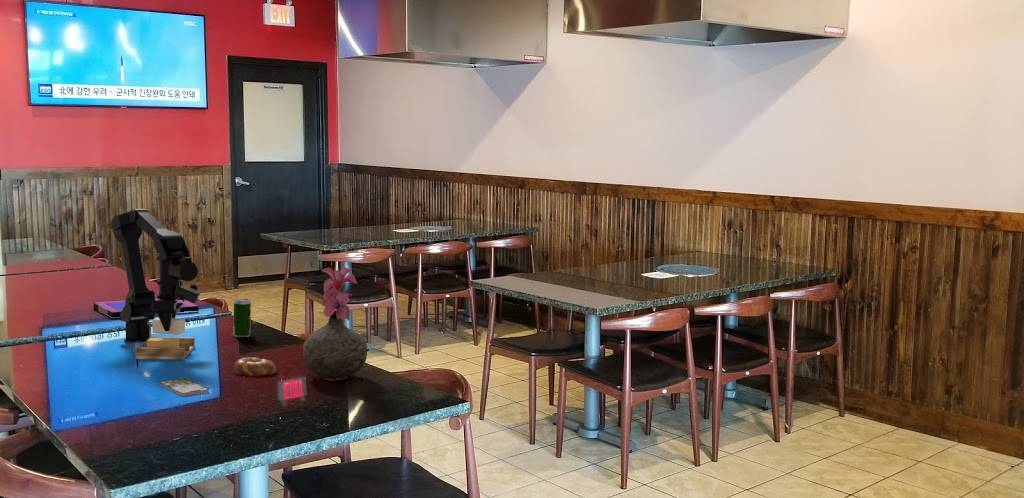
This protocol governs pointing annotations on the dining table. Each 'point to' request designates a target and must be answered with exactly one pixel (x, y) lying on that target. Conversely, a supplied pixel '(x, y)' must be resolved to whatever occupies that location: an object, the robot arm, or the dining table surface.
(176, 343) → the ochre bar
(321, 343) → the vase
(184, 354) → the comb board
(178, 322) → the cream bar
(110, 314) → the book
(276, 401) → the dining table surface
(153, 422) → the dining table surface
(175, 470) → the dining table surface
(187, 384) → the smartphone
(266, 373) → the pretzel
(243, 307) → the beer can
